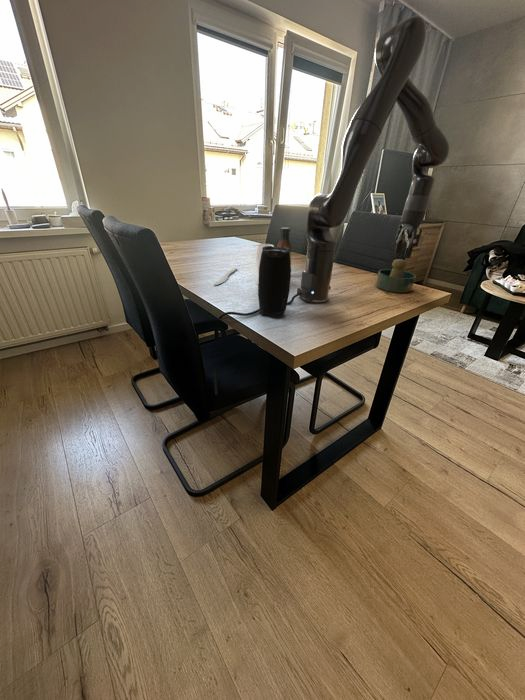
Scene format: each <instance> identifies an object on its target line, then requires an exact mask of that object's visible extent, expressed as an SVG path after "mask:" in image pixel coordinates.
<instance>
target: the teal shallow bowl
mask: <svg viewBox="0 0 525 700" xmlns="http://www.w3.org/2000/svg"><path fill="white" fill-rule="evenodd" d="M392 269H393V268H392ZM392 269H391V268H385V269H379V270H378V271H377V275H376V280H375V287H377V288H379V289H380V290H382V291H386V292H388V293H389V292H390V293H395V294H404V293H410V292H412V290H413V288H414V284H415V281H416V278H417V275H415V274H414V273H412V272H410V271H405V270H404V271H403V278H396V277H391V276H390V274H391V271H392Z"/></svg>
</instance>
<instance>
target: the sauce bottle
mask: <svg viewBox="0 0 525 700" xmlns="http://www.w3.org/2000/svg"><path fill="white" fill-rule="evenodd" d="M279 232H280V237H279V239H280V240H279V241H278V243H277V247H276V248H282V247H287V248H289V249H290V262H291V263H292V251H293V250H292V244H291V241H290V232H291V228H290V227H280V228H279Z"/></svg>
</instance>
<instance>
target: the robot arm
mask: <svg viewBox="0 0 525 700" xmlns="http://www.w3.org/2000/svg"><path fill="white" fill-rule="evenodd" d="M425 21H426V20H425V19H424V18H423V17H422V16H420V15H413V16H409V17H406V18H404V19H402V20H401V21H400V22H398V23H396V24H394V25H393V26H391V27H390V28H388V29H386V30H385V31H383V33H382V34H380V36H379V37H378V40H377V42H376V44H375V49H374V62H375V65H376V68H377V71H378V74H379V75H380V78H379V79H378V81H377V82H376V84H375V85H374V87H373V88H372V89H371V90H370V92H369V93H368V95H367V96H366V97H365V98H364V99H363V101H362V102H361V103H360V104H359V106H358V108H357V109H356V111H355V113H354V114H353V116H352V118H351V119H350V122H349V125H348V127H347V129H346V132H345V134H344V137H343V140H342V144H341V151H340V152H341V153H340V171H339V175H338V177H337V180H336V183H335V185H334V187H333V188H332V189H333V190H332V191H331V193H330V192H329V193H327V192H320V193H317V194H316V195H314V196H313V197H312V198H311V200H310V203H309V206H308V210H307V219H306V235H305V236H306V240H307V248H306V257H305V265H304V270H302V271H301V279H300V287H297V288H296V294H294V295H293V296H292V297H291V298H290V300H289V301H287V306H288V305H289V306H290V304H293V302H294V301H295V298H297V297H299V298H300V299H302V300H304V301H306V302H307V303H314V304H315V303H316V304H317V303H318V304H319V303H325V302H328V299H329V293H330V292H329V291H330V290H331V280H332V275H333V268H334V261H335V256H336V249H337V240H336V239H335V237H333V235H332V232H331V229H334V228H338V227H340V226H341V225H342V224H343V222H344V221H345V219H346V217H347V215H348V213H349V211H350V208H351V204H352V203H353V200H354V198H355V194H356V191H357V188H358V186H359V183H360V181H361V178H362V176H363V174H364V171H365V169H366V166H368V165H367V164H368V162H369V160H370V158H371V156H372V153H373V151H374V150H375V148H376V146H377V144H378V142H379V138H380V137H381V134H382V132H383V129H384V128H385V125H386V123H387V120H388V119H389V116H390V114H391V112H392V111H393V108H394V106H395V104H397V106H398V108H399V109H400V112H401V114H402V116H403V118H404V121H405V123H406V126H407V129H408V133H409V135H410V138H411V141H412V142H413V144H417V145H418V146H417V148H416V149H415V151H414V154H413V157H412V167H411V168H412V171H411V184H410V188H409V191H408V195H407V198H406V200H405V204H404V207H403V211H402V214H401V218H400V223H402V224H399V225H398V226H397V227H398V228H397V231H396V235H395V238H394V241H395V243H396V245H395V249H394V253H395V254H401V253H402V249H403V245H404V243H406V247H405V251H404V254H403V258H405V259H411V257H412V256H411V255H412V253H413V249H414V248H416V247H419V243H420V239H421V235H422V233H423V228H418V227H419V225H423V223H424V220H425V217H426V214H427V211H428V207H429V203H430V199H431V196H432V195H431V194H432V191H433V187H434V185H435V179H436V178H435V176H433V175H430V174H428V168H431V167H432V168H433V167H439V166H441V165H443V164H444V163H445V162H446V161H447V159H448V157H449V155H450V143H449V140H448V139H447V137H446V135H445V134H444V133H443V131H442V129H441V128H440V127H439V126H438V124H437V122H436V118H435V113H434V111H433V107H432V104H431V102H430V101H429V99H428V98H427V96H426V95H425V94H424V93H423V92H422V91H421V90H420V89H419V88H418V87H417V86H416V85H415V83H414V82H413V81H412V79H411V78H410V75H411V74H412V72H413V71H414V69H415V67H416V65H417V63H418V61H419V59H420V57H421V55H422V53H423V50H424V47H425V44H426V38H427V25H426V22H425ZM257 313H260V307H259V308H258V309H256V310H253V311H250V312H246V313H244V312H236V311H225V312H223V313H221V314H220V315H219V316H218V317H217V320H220V319H222V318H223V317H225V316H229V315H235V316H239V317H248V316H252V315H255V314H257ZM212 372H213V373H212V376H213V384H214V385H213V386H214V396H215V395H217V394H218V384H217V383H218V382H217V371H216V370H214V371H212Z"/></svg>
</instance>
